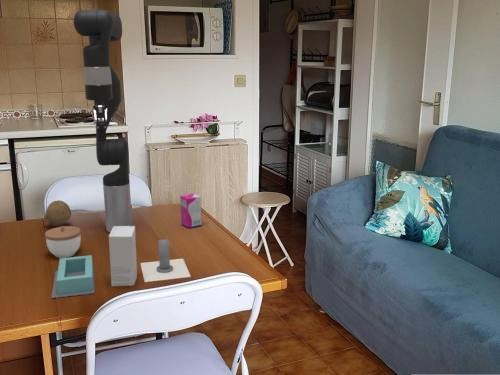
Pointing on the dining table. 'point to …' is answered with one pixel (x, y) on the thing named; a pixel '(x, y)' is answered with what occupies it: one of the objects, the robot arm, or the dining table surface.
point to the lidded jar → (63, 241)
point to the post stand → (164, 266)
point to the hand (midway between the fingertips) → (102, 138)
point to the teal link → (75, 282)
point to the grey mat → (55, 293)
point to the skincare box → (123, 255)
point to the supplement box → (191, 210)
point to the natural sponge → (57, 213)
